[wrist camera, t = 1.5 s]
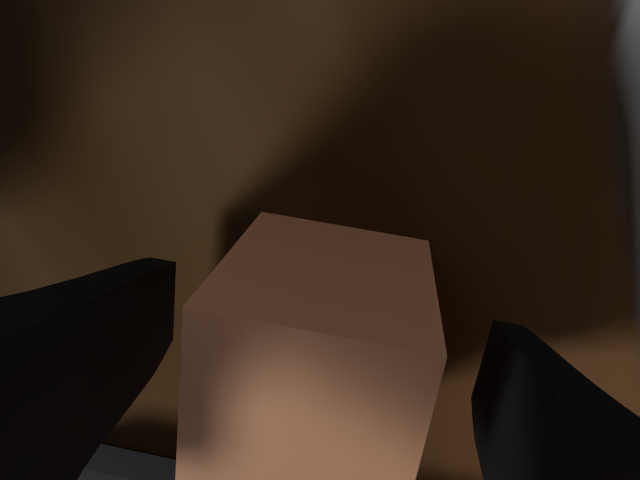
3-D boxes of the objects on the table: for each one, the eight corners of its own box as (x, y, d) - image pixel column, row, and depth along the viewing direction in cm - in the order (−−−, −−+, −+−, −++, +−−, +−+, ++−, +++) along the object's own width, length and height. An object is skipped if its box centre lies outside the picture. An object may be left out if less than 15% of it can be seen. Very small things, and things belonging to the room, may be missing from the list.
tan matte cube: (262, 211, 13) (182, 306, 8) (428, 240, 12) (447, 357, 8) (246, 371, 14) (173, 527, 10) (392, 400, 14) (390, 576, 9)
